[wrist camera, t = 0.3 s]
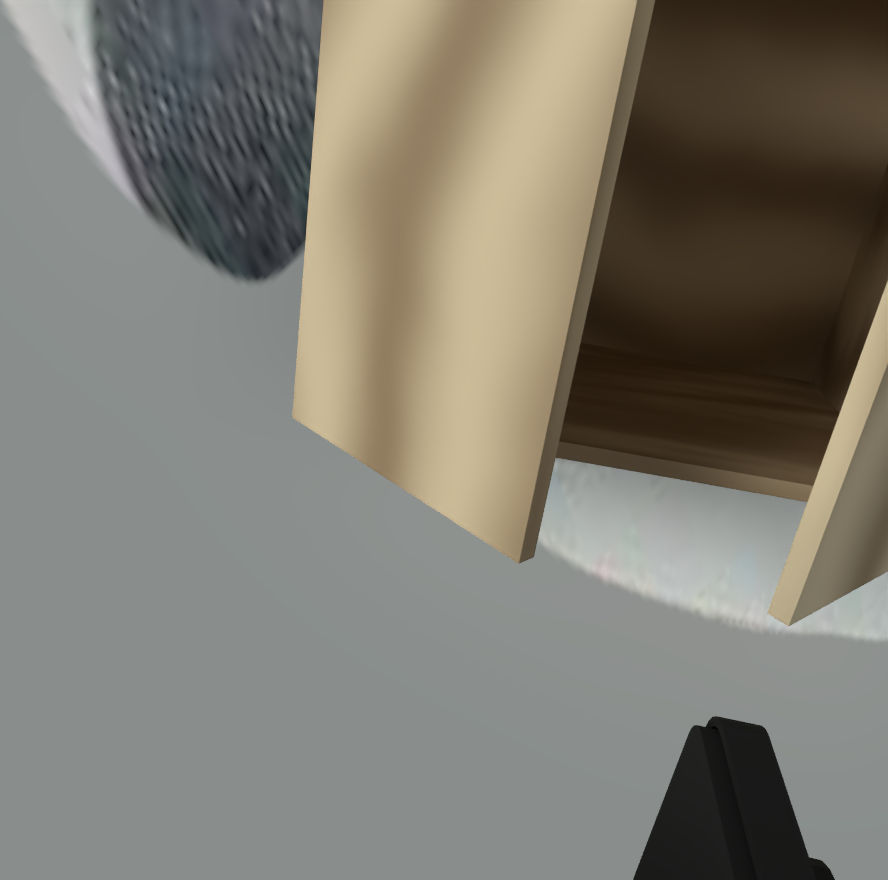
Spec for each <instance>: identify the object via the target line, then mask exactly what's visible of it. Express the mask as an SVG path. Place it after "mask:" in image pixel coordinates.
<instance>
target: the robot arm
mask: <svg viewBox="0 0 888 880" xmlns="http://www.w3.org/2000/svg"><path fill="white" fill-rule="evenodd" d="M633 880H835V879H834V877H833V875H832V873H831V871H830V869H829V868H828V867H827V866H826V865H825V864H824V863H823V861H821V860H818V859H813V858H809V857H808V853H807V850H806V848H805V844H804V841H803V838H802V835H801V832H800V829H799V826H798V823H797V820H796V817H795V814H794V811H793V808H792V805H791V802H790V799H789V795H788V792H787V789H786V787H785V783H784V780H783V777H782V774H781V771H780V768H779V765H778V762H777V759H776V756H775V753H774V750H773V747H772V744H771V741H770V738H769V735H768V733H767V731H766V729H765V728H764V727H762V726H760V725H755V724H751V723H745V722H741V721H736V720H731V719H726V718H722V717H717V716H716V717H712V718H711V719H710V720H709V721H708V724H707V726H706V727H702V726H697V725H695V726H693V727H692V729H691V730H690V732H689V735H688V737H687V740H686V742H685V745H684V748H683V750H682V753H681V756H680V758H679V761H678V763H677V766H676V769H675V771H674V774H673V777H672V779H671V782H670V784H669V787H668V790H667V792H666V795H665V797H664V800H663V803H662V805H661V808H660V810H659V813H658V816H657V818H656V821H655V824H654V826H653V829H652V831H651V834H650V837H649V839H648V842H647V845H646V847H645V850H644V852H643V855H642V858H641V860H640V863H639V865H638V868H637V871H636V874H635V876H634V879H633Z"/></svg>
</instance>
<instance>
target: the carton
mask: <svg viewBox="0 0 888 880" xmlns="http://www.w3.org/2000/svg"><path fill="white" fill-rule="evenodd" d="M887 281H888V0H655V3H654V8H653V12H652V17H651V21H650V26H649V31H648V35H647V40H646V44H645V49H644V54H643V58H642V63H641V67H640V72H639V76H638V81H637V86H636V90H635V95H634V99H633V104H632V109H631V113H630V118H629V122H628V127H627V131H626V136H625V141H624V145H623V150H622V154H621V159H620V164H619V168H618V173H617V177H616V182H615V187H614V191H613V196H612V200H611V205H610V209H609V214H608V219H607V223H606V228H605V232H604V237H603V242H602V246H601V251H600V255H599V260H598V265H597V269H596V274H595V278H594V283H593V287H592V292H591V297H590V301H589V306H588V310H587V315H586V320H585V324H584V329H583V333H582V338H581V343H580V347H579V352H578V356H577V361H576V365H575V370H574V375H573V379H572V384H571V388H570V393H569V398H568V402H567V407H566V411H565V416H564V421H563V425H562V430H561V434H560V439H559V443H558V448H557V453H556V458H562V459H567V460H573V461H579V462H584V463H590V464H596V465H601V466H607V467H613V468H618V469H624V470H630V471H635V472H641V473H647V474H652V475H658V476H664V477H669V478H675V479H681V480H686V481H692V482H698V483H703V484H709V485H715V486H720V487H726V488H732V489H737V490H743V491H749V492H754V493H760V494H766V495H771V496H777V497H783V498H788V499H794V500H800V501H805V502H808V500H809V497H810V494H811V491H812V489H813V486H814V483H815V480H816V478H817V475H818V472H819V469H820V466H821V464H822V461H823V458H824V455H825V453H826V450H827V447H828V444H829V442H830V439H831V436H832V433H833V431H834V428H835V425H836V422H837V419H838V417H839V414H840V411H841V408H842V406H843V403H844V400H845V397H846V395H847V392H848V389H849V386H850V384H851V381H852V378H853V375H854V372H855V370H856V367H857V364H858V361H859V359H860V356H861V353H862V350H863V348H864V345H865V342H866V339H867V337H868V334H869V331H870V328H871V325H872V323H873V320H874V317H875V314H876V312H877V309H878V306H879V303H880V301H881V298H882V295H883V292H884V290H885V287H886V284H887Z"/></svg>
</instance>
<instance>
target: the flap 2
mask: <svg viewBox="0 0 888 880" xmlns="http://www.w3.org/2000/svg"><path fill="white" fill-rule="evenodd" d="M887 571H888V281H887V284H886V287H885V290H884V292H883V295H882V298H881V301H880V303H879V306H878V309H877V312H876V314H875V317H874V320H873V323H872V325H871V328H870V331H869V334H868V337H867V339H866V342H865V345H864V348H863V350H862V353H861V356H860V359H859V361H858V364H857V367H856V370H855V372H854V375H853V378H852V381H851V384H850V386H849V389H848V392H847V395H846V397H845V400H844V403H843V406H842V408H841V411H840V414H839V417H838V419H837V422H836V425H835V428H834V431H833V433H832V436H831V439H830V442H829V444H828V447H827V450H826V453H825V455H824V458H823V461H822V464H821V466H820V469H819V472H818V475H817V478H816V480H815V483H814V486H813V489H812V491H811V494H810V497H809V500H808V502H807V505H806V508H805V511H804V513H803V516H802V519H801V522H800V524H799V527H798V530H797V533H796V536H795V538H794V541H793V544H792V547H791V549H790V552H789V555H788V558H787V560H786V563H785V566H784V569H783V571H782V574H781V577H780V580H779V583H778V585H777V588H776V591H775V594H774V596H773V599H772V602H771V605H770V607H769V610H768V614H770V615H771V616H773V617H774V618H776V619H778V620H779V621H781V622H783V623H784V624H786V625H787V626H790V625H792V624H794V623H795V622H797V621H799V620H801V619H803V618H804V617H806V616H808V615H810V614H812V613H813V612H815V611H817V610H819V609H821V608H822V607H824V606H826V605H828V604H830V603H832V602H833V601H835V600H837V599H839V598H841V597H842V596H844V595H846V594H848V593H850V592H851V591H853V590H855V589H857V588H859V587H860V586H862V585H864V584H866V583H868V582H869V581H871V580H873V579H875V578H877V577H878V576H880V575H882V574H884V573H886V572H887Z"/></svg>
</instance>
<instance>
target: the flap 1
mask: <svg viewBox="0 0 888 880" xmlns="http://www.w3.org/2000/svg"><path fill="white" fill-rule="evenodd" d="M654 3H655V0H324V5H323V18H322V31H321V45H320V58H319V71H318V84H317V98H316V111H315V124H314V137H313V151H312V164H311V177H310V190H309V204H308V217H307V230H306V243H305V257H304V271H303V283H302V297H301V310H300V323H299V336H298V351H297V363H296V377H295V389H294V403H293V416H292V417H293V418H294V419H296V420H297V421H299V422H300V423H302V424H303V425H305V426H306V427H308V428H309V429H311V430H313V431H314V432H316V433H317V434H319V435H320V436H322V437H323V438H325V439H327V440H328V441H330V442H331V443H333V444H334V445H336V446H337V447H339V448H340V449H342V450H343V451H345V452H347V453H348V454H350V455H351V456H353V457H354V458H356V459H358V460H359V461H361V462H362V463H364V464H365V465H367V466H368V467H370V468H371V469H373V470H374V471H376V472H378V473H379V474H381V475H382V476H384V477H385V478H387V479H389V480H390V481H392V482H393V483H395V484H396V485H398V486H399V487H401V488H403V489H404V490H405V491H407V492H409V493H410V494H412V495H413V496H415V497H416V498H418V499H419V500H421V501H422V502H424V503H426V504H427V505H429V506H430V507H432V508H433V509H435V510H437V511H438V512H439V513H441V514H443V515H444V516H446V517H447V518H449V519H450V520H452V521H454V522H455V523H457V524H458V525H460V526H461V527H463V528H464V529H466V530H467V531H469V532H470V533H472V534H474V535H475V536H477V537H478V538H480V539H481V540H483V541H484V542H486V543H487V544H489V545H491V546H492V547H494V548H495V549H497V550H498V551H500V552H501V553H503V554H505V555H506V556H508V557H509V558H511V559H512V560H514V561H515V562H517V563H521V562H523V561H526V560H528V559H531V558H533V557H534V553H535V549H536V544H537V540H538V535H539V531H540V526H541V521H542V517H543V512H544V508H545V503H546V499H547V494H548V489H549V485H550V480H551V476H552V471H553V466H554V462H555V457H556V453H557V448H558V443H559V439H560V434H561V430H562V425H563V421H564V416H565V411H566V407H567V402H568V398H569V393H570V388H571V384H572V379H573V375H574V370H575V365H576V361H577V356H578V352H579V347H580V343H581V338H582V333H583V329H584V324H585V320H586V315H587V310H588V306H589V301H590V297H591V292H592V287H593V283H594V278H595V274H596V269H597V265H598V260H599V255H600V251H601V246H602V242H603V237H604V232H605V228H606V223H607V219H608V214H609V209H610V205H611V200H612V196H613V191H614V187H615V182H616V177H617V173H618V168H619V164H620V159H621V154H622V150H623V145H624V141H625V136H626V131H627V127H628V122H629V118H630V113H631V109H632V104H633V99H634V95H635V90H636V86H637V81H638V76H639V72H640V67H641V63H642V58H643V54H644V49H645V44H646V40H647V35H648V31H649V26H650V21H651V17H652V12H653V8H654Z"/></svg>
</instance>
